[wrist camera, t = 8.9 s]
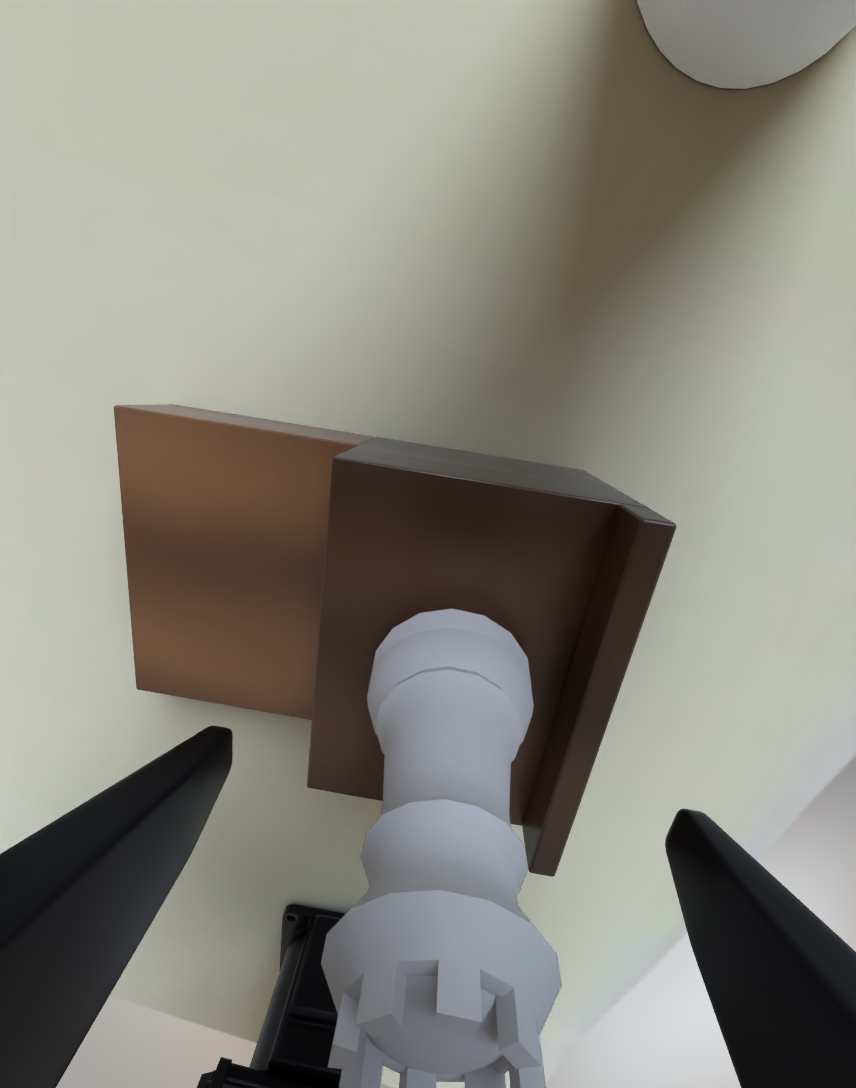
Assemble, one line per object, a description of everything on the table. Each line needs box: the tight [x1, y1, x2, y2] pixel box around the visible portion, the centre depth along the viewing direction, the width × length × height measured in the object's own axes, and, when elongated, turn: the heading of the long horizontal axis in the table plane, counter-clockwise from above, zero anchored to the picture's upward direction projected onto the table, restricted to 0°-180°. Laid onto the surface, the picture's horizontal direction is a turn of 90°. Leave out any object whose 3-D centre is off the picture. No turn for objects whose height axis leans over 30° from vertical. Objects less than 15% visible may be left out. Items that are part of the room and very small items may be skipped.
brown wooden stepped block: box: [114, 404, 676, 877], centre depth 15 cm, size 11×16×8 cm
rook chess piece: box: [321, 609, 562, 1088], centre depth 9 cm, size 4×4×8 cm
